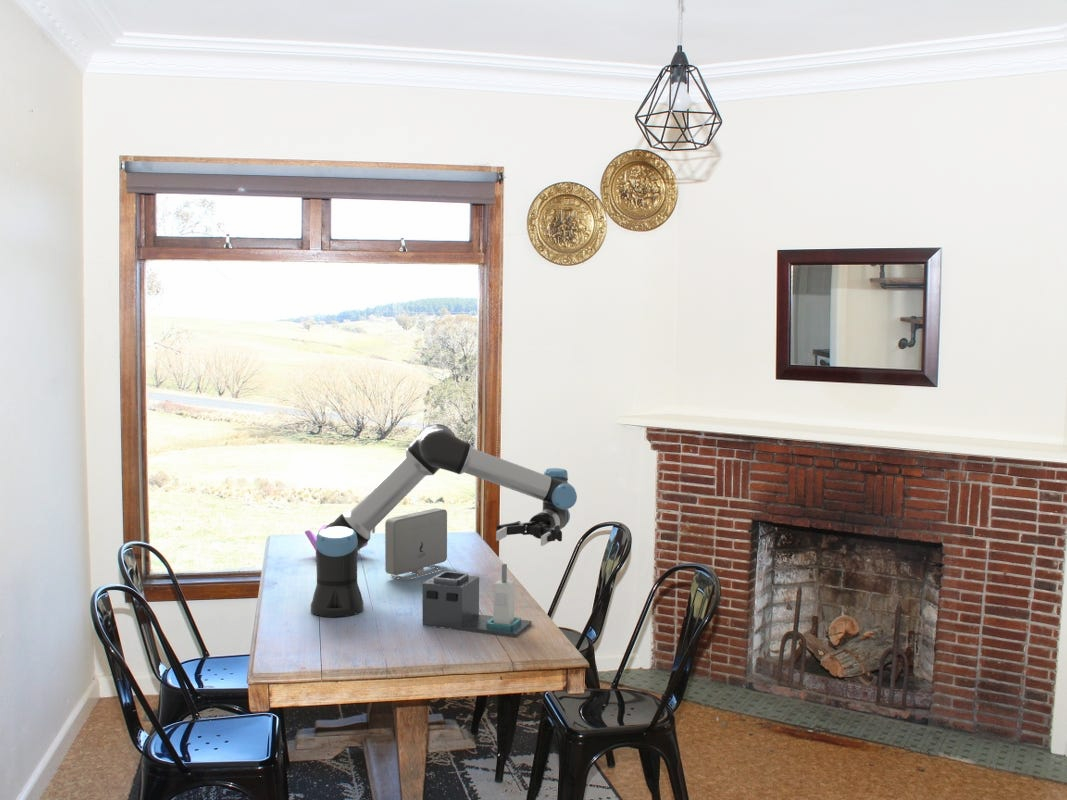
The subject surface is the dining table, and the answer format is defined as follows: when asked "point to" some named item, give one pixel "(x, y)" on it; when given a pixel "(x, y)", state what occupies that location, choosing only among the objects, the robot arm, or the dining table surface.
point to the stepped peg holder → (461, 606)
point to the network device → (415, 542)
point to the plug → (504, 599)
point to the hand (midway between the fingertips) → (519, 538)
